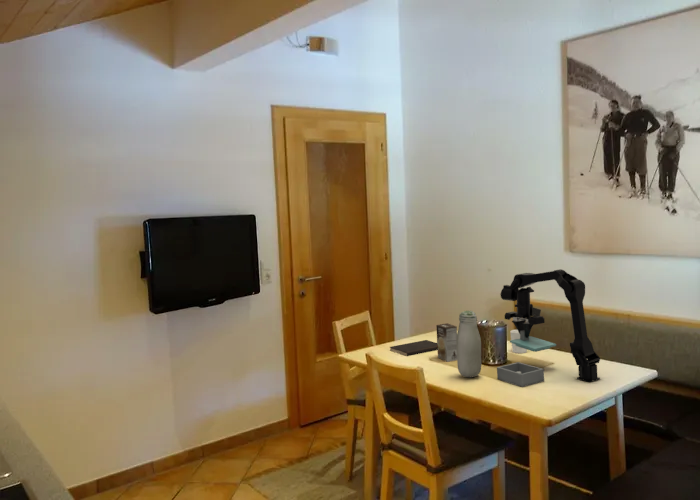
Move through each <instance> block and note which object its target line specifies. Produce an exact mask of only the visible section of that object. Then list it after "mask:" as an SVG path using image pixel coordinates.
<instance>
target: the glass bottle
mask: <svg viewBox="0 0 700 500" xmlns="http://www.w3.org/2000/svg"><path fill="white" fill-rule="evenodd" d="M458 321H459V325H458V328H457V337H456V348H457V360H456V363H457V364H456V365H457V369H458V372H459V374H460V375H461V376H462V377H465V378H474V377H475V378H476V377H478V375H479V374H481V370H482V341H481V340H482V339H481V335H480V332H479V328H478V323H477V322H478V318H477V314H476V312H475V311H473V310H464V311H462V312H460V313H459V317H458Z"/></svg>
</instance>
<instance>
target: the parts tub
mask: <svg viewBox="0 0 700 500" xmlns="http://www.w3.org/2000/svg"><path fill="white" fill-rule="evenodd" d="M496 378H497V380H498V381H502V382H505V383H508V384H512V385H515V386H517V387H521V388H524V387H528V386H533V385H536V384H538V383H539V384H540V383H544V382H545V370H544V368H541V367H537V366H535V365H530V364H526V363H524V362H520V361H518V362H514V363H508V364H505V365H500V366H497V367H496Z"/></svg>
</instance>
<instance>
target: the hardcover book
mask: <svg viewBox="0 0 700 500" xmlns="http://www.w3.org/2000/svg"><path fill="white" fill-rule="evenodd" d="M389 349H390V351H391V352H395V353H397V354H400V355H404V356H406V357H410V356H415V355H420V354H425V353H431V352H435V351H438V349H437V342H434V341H431V340H427V339H425V340H419V341H414V342H409V343H403V344H399V345H398V344H397V345H391V346H389Z"/></svg>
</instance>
